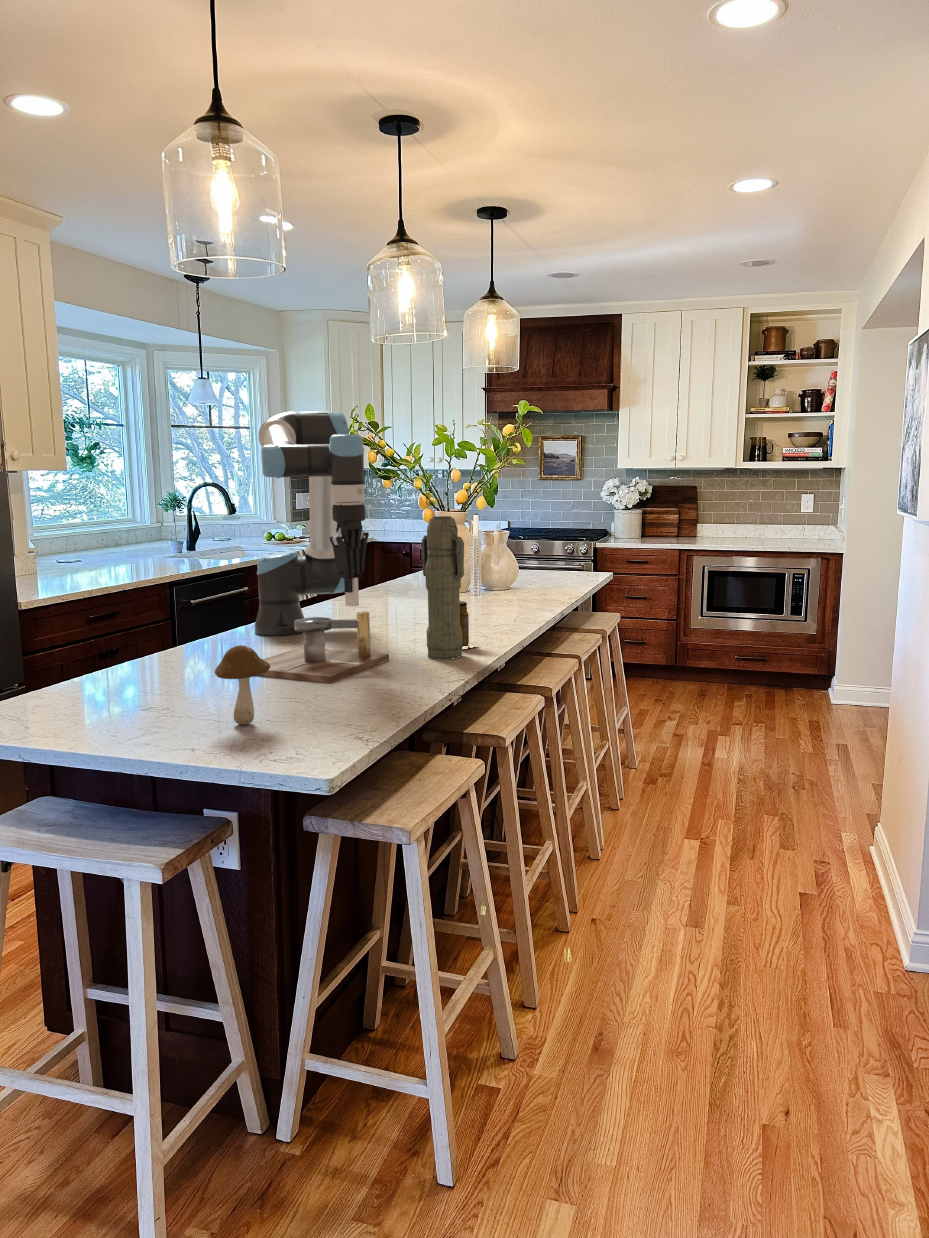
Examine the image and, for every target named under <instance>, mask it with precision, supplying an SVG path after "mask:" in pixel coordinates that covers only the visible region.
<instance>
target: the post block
mask: <svg viewBox="0 0 929 1238" xmlns="http://www.w3.org/2000/svg"><path fill="white" fill-rule="evenodd" d="M302 633H303V636H302V637H303V646H301V647H298V648H294V649H291V650H289V651H288V650H287V651H285V652H282V653H278V654H274V655H272V656H268V657H266V658H262V659H263V660H264V661H266V662H268V663H269V664H270V668H269V670H268V671H267V672H266V673H264V674H261V675H264V676H263V677H269V678H277V679H278V678H280V679H287V680H288V679H289V680H297V681H307V682H318V683H323V684H325V683H326V684H331V683H334V682H337V681H338V680H341V679H344V678H347V677H349V676H351V675H354V674H357V673H359V672H362V671H365V670H367V669H369V668H372V667H375V666H378V665H380V664H382V663H385V662H388V661H390V654H389V653H381V652H379V653H378V652H371V658H368V659H359V658H358V650H348V649H347V650H346V649H337V648H336V649H334V648H326V640H325V639H326V638H325V631H319V632H302Z"/></svg>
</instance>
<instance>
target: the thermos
mask: <svg viewBox="0 0 929 1238" xmlns="http://www.w3.org/2000/svg"><path fill="white" fill-rule="evenodd" d="M458 529H459V528H458V526H457V523H456V520H455V517H452V516H448V515H447V516H446V515H445V516H444V515H443V516H441V515H439V516H432V518H429V520H428V525H427V527H426V535H424V536H423V537H422V540H421V557H422V558H421V559H422V560H421V561H422V562H421V565H422V575H423V577H425V588H426V590H427V614H428V618H427V620H428V626H427V628H426V648H427V657H429V658H428V659H430V658H432V659H431V660H435V659H452V658H457V657H459V656H461V655H462V656H463V650H462V646H463V644H462V629H461V626H460V599H461V598H460V590H461V588H462V578H463V577H464V576H465V568H464V567H465V541H464V539H463V538H462V536H459V532H458V531H459V530H458ZM452 660H453V659H452Z"/></svg>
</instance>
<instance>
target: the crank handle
mask: <svg viewBox="0 0 929 1238" xmlns="http://www.w3.org/2000/svg"><path fill="white" fill-rule="evenodd" d="M294 627H295V630H296V631H300V632H301V633H303V632H319V631H324V632H325V631H330V630H332V629H340V630H341V629H357V631H356V632H357V633H356V635H357V651H358V658H359V659H368V658H371V653H372V652H371V650H372V649H371V647H372V646H371V623H370V612H369V611H357V612H356V619H332V618H330V617H325V616H324V617H322V616H314V617H304V618H302V619H297V620H295V621H294Z"/></svg>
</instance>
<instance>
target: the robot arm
mask: <svg viewBox="0 0 929 1238" xmlns="http://www.w3.org/2000/svg"><path fill="white" fill-rule="evenodd" d="M348 425H349V424H348V422H347V418H346V416H345V414H344V413H342V412H340V411H330V410H315V411H312V410H311V411H310V410H309V411H308V410H306V411H292V410H291V411H284V412H279V413H277V414H275V415H273V416H271V417H270V418H268V419H266V420H265V421H264V422H263V423H262V425H261V426H260V428H259V430H258V441H259V445H260V447H261V449H260V450H261V452H260V454H261V457H260V458H261V469H262V470H261V471H262V474H263V476H264V477H266V478H276V479H280V478H302V477H303V478H305V477H306V478H307V477H308V486H309V487H308V489H309V490H308V491H309V495H308V496H309V499H308V500H309V544H308V546H307V547H305V550H304V555H299V554H298V552H297V551H296V550H291V551H290V550H289V551H281V552H280V551H279V552H274V553H273V552H272V553H270V554H266V555H263V556H261V557H259V558H258V560H257V565H256V566H257V570H256V575H257V580H258V581H257V582H258V587H257V588H258V603H259V607H258V611H257V614H256V618H255V623H254V633H255V634H257V635H260V636H287V635H296V634H300V633H302V632H300V631H296V630H295V627H294V621H295V620H297V619H302V618H305V617H304V613H303V611H302V608H301V604H300V596H304V595H305V596H309V595H328V594H329V595H333V594H339V593H344V598H345V599H344V600H345V601H344V603H345V607H354V608H355V607H358V606H360V599H359V578H363V575H364V572H365V565H366V564H365V563H366V554H367V544H368V543H367V542H368V539H369V535H370V534H369V532H368V531H364V530H363V524H362V522H364V521H365V520H366V505H365V504H363V502H365V500H366V498H365V494H366V489H365V469H364V467H365V466H364V465H365V464H364V462H365V461H364V459H365V458H364V456H365V455H364V452H365V448H364V442H363V441H364V440H363V437H362V436H361V435H360V434H350V430H349V426H348Z"/></svg>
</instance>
